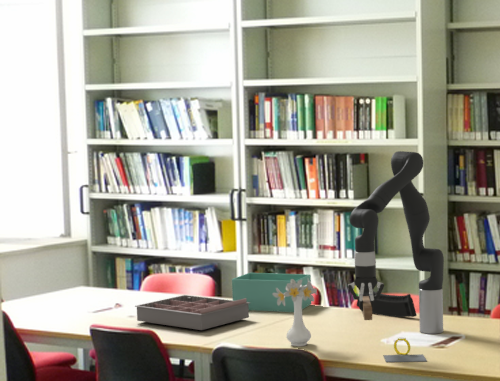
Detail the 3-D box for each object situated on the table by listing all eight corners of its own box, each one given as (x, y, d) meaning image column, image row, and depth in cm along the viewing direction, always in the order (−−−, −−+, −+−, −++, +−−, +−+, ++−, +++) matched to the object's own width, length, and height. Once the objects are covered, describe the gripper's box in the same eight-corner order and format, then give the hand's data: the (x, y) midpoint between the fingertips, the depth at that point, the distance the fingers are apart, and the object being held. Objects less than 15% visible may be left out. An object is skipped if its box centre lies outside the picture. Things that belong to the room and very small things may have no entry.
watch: (393, 354, 312) (392, 338, 312) (397, 353, 314) (395, 336, 314) (408, 355, 308) (406, 338, 308) (412, 354, 311) (410, 337, 311)
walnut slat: (361, 307, 325) (361, 296, 324) (368, 307, 325) (368, 296, 324) (364, 320, 311) (364, 308, 310) (372, 319, 311) (372, 307, 310)
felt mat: (383, 356, 309) (383, 355, 309) (423, 355, 309) (423, 354, 309) (386, 362, 300) (386, 361, 300) (426, 361, 300) (426, 360, 300)
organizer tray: (185, 311, 407) (184, 290, 406) (251, 320, 381) (250, 298, 381) (134, 323, 382) (134, 301, 381) (202, 334, 356) (201, 310, 356)
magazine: (421, 298, 371) (367, 272, 391) (416, 299, 369) (362, 273, 389) (412, 334, 376) (359, 307, 396) (407, 336, 373) (355, 308, 394)
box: (296, 312, 396) (295, 281, 395) (232, 309, 408) (231, 279, 408) (311, 304, 415) (310, 274, 414) (250, 302, 428) (249, 272, 427)
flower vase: (269, 347, 328) (267, 281, 327) (301, 338, 341) (299, 275, 340) (296, 352, 319) (293, 284, 318) (327, 342, 332) (325, 278, 331)
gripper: (383, 261, 320) (384, 308, 321) (345, 262, 321) (346, 309, 322) (385, 264, 312) (386, 312, 313) (346, 265, 313) (348, 313, 314)
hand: (366, 310), depth 317 cm, fingers closed on walnut slat, 2 cm apart
